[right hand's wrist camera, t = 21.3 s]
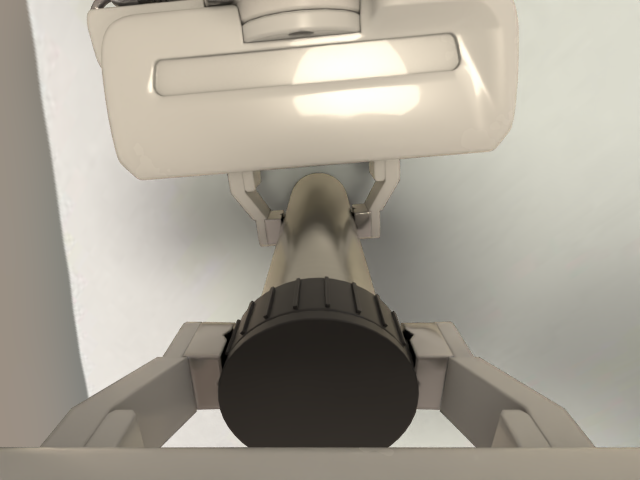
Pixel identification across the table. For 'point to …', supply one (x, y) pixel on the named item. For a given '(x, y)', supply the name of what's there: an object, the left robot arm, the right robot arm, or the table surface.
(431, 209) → the table surface
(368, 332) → the lid
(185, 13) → the left robot arm
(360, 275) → the metal thermos flask
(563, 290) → the table surface
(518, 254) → the table surface
